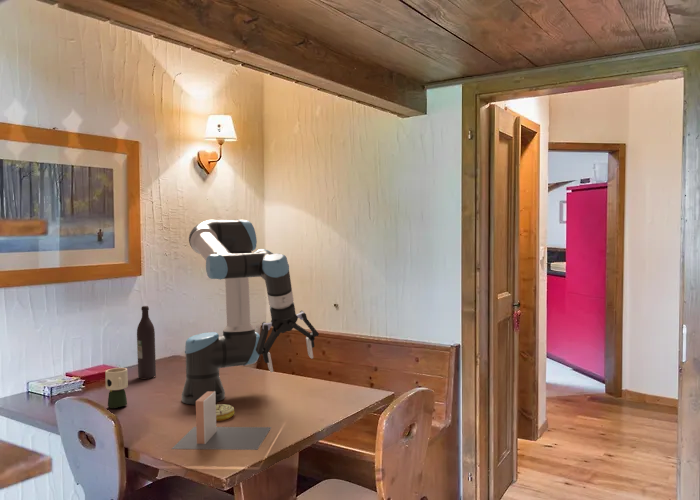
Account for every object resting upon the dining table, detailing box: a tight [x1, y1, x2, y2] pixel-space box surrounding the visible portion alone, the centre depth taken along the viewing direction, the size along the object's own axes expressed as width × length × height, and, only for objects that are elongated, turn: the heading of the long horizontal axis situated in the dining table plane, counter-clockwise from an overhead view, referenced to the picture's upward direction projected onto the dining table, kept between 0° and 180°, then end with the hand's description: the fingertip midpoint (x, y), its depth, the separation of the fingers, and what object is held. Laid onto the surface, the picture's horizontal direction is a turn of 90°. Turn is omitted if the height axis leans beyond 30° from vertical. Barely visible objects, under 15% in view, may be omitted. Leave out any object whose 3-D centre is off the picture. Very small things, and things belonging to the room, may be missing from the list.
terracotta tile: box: [195, 391, 217, 444], centre depth 166 cm, size 10×2×12 cm, turn 176°
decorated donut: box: [216, 403, 235, 422], centre depth 185 cm, size 10×11×4 cm
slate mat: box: [171, 426, 272, 451], centre depth 166 cm, size 18×24×1 cm
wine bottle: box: [136, 305, 157, 379], centre depth 241 cm, size 7×7×30 cm
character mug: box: [104, 367, 129, 409], centre depth 199 cm, size 11×7×13 cm, turn 34°
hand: (291, 363), depth 183 cm, fingers open, 13 cm apart
